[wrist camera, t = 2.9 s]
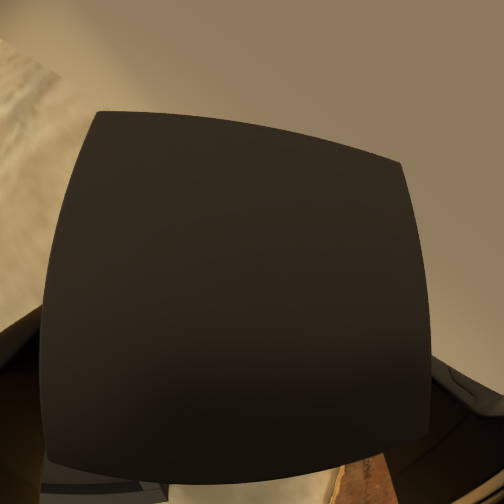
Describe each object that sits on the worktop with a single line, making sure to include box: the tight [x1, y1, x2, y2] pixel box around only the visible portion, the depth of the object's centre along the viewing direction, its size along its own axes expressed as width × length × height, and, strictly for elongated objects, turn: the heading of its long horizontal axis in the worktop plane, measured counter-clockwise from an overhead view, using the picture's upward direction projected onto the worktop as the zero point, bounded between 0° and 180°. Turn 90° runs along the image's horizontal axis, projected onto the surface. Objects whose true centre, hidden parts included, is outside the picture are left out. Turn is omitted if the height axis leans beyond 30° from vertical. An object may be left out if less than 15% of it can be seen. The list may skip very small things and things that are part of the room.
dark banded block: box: [39, 111, 431, 485], centre depth 9 cm, size 5×6×13 cm
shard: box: [329, 453, 398, 504], centre depth 14 cm, size 11×8×2 cm
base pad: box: [40, 448, 169, 504], centre depth 10 cm, size 10×10×2 cm
